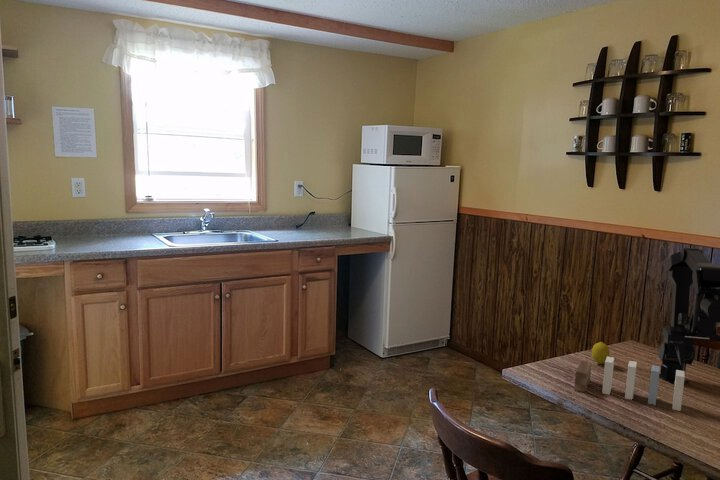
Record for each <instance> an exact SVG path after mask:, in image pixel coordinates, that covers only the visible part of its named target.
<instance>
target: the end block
mask: <svg viewBox="0 0 720 480" xmlns="http://www.w3.org/2000/svg"><path fill="white" fill-rule="evenodd" d="M591 372H592V362H588V361H584V360H581V361H580V362H579V364H578V366H577V369H576V370H575V377H574V388H573V391H577V392H581V393H586V391H587V388H588V387H589V384H590V382H591V374H592V373H591Z"/></svg>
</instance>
